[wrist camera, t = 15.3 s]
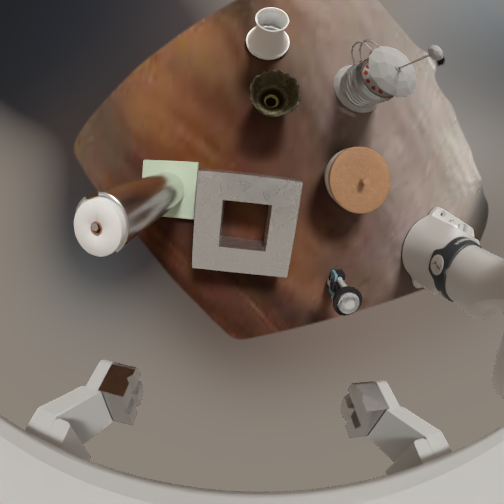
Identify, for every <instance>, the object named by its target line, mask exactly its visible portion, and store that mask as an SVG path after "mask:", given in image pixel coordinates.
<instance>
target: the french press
mask: <svg viewBox="0 0 504 504" xmlns="http://www.w3.org/2000/svg"><path fill="white" fill-rule="evenodd" d="M366 41H370V42H373V43H375V44H376V45H377V46H378V47H379V48H377V49H375V50H372V48H371V47H370V46H369V45H367V44H366V43H364V42H366ZM357 43H361V45H360V49H359V52H360V57H361V61H362V62H361V61H360V62H361V63H360V62H358V63H357V64H356V65H355V60H354V57H353V48H354V46H355V45H356V44H357ZM362 44H365V45H367V46H368V47H369V48H370V50H371V52H370V56H369V58H368V59H366V60H364V59H363V60H364V61H363V60H362V55H361V46H362ZM428 52H429V55H426V56H424V57H422V58H419V59H417V60H415V61H412V62H410V61H409V59H408V58H407V57H406V56H405V55H404V54H402V53H401V52H400V51H399V50H396V49H394V48H392V47H380V46H379V45H378V44H377V43H376V42H374V41H372V40H364V41H363V42H356V43H355V44H354V45H353V46H352V50H351V54H352V59H353V62H354V65H349V66H345V67H343V68H342V69H340V70H339V71H338V72H337V74H336V76H335V77H334V89H335V92H336V96H337V97H338V99H339V100H340V101H341V103H342V104H343V105H344V106H346V107H347V108H349V109H350V110H351V111H355V112H359V113H366V112H371V111H372V110H374V109H375V108H377V106H378V105H379V103H381V102H384V101H388V100H389V99H391V98H393V96H396V97H406V96H408V95H409V94H411V93H413V91H414V89H415V87H416V73H415V70H414V67H413V65H412V63H414V62H417V61H419V60H421V59H424V58H426V57H428V56H431V57H432V58H433V59H434V60H440V59H442V58H443V52H442V50H441V48H439V47H438V46H435V45H431V46H430V47H428ZM359 63H360V64H359ZM381 98H382V99H381Z"/></svg>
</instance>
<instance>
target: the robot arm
mask: <svg viewBox="0 0 504 504" xmlns="http://www.w3.org/2000/svg"><path fill="white" fill-rule="evenodd" d="M402 259H403V264H404V267H405V269H406V271H407V272H408V273H409V275H410V276H411V279H412V284H413V286H414V287H416V288H423V287H424V288H425V289H427V290H428V291H429V292H431V293H432V294H434V295H437V294H441V295H442V296H443V297H445V298H446V299H448V300H449V301H452V302H455V303H456V304H457V305H458V306H459V307H460V308H461V309H462V310H463V311H465V312H466V313H467V314H468V315H469V316H470V317H471V318H473V319H476V320H485V319H488V318H491V317H492V316H494V315H495V314H496V313H497V312H498V311H501V312H503V313H504V259H503V258H500V257H498V256H496V255H494V254H492V253H490V252H488V251H486V250H484V249H482V248H481V246H480V243H479V241H478V240H477V239H475V238H474V230H473V228H472V227H470V226H469V225H467V224H466V223H464V222H463V221H461V220H459V219H458V218H456V217H455V216H453V215H452V214H450V213H448V212H447V211H445V210H444V209H442V208H440V207H438V206H436V207H434V208H433V209H432V211H431V212H430V213H429V215H427V216H426V217H424V218H422V219H421V220H419V221H418V222H417V223H416V224H415V225H414V226H413V227H412V228H411V230H410V231H409V233H408V235H407V237H406V239H405V242H404V245H403V251H402ZM139 377H140V370H139V368H136V367H132V366H128V365H124V364H120V363H116V362H111V361H108V360H105V359H103V360H101V361H100V362H99V364H98V366H97V367H96V369H95V371H94V373H93V374H92V376H91V378H90V379H89V381H88V383H87V385H86V386H81V387H79V388H77V389H75V390H73V391H71V392H69V393H67V394H65V395H63V396H61V397H59V398H57V399H55V400H53V401H51V402H49V403H47V404H45V405H43V406H40V407H39V408H38V409H37V411H36V412H35V414H34V415H33V417H32V419H31V421H30V422H29V424H28V426H27V427H26V429H25V430H24V429H22V428H21V427H19V426H17V425H15V424H14V423H12V422H11V421H9V420H7V419H6V418H4V417H3V416H1V415H0V504H504V426H502V427H500V428H498V429H496V430H494V431H492V432H491V433H489V434H487V435H485V436H484V437H482V438H480V439H478V440H476V441H475V442H472V443H470V444H468V445H466V446H464V447H462V448H460V449H458V450H455V451H453V452H452V451H451V449H450V447H449V445H448V443H447V441H446V439H445V438H444V436H443V434H442V432H441V431H440V430H438V429H437V428H435V427H433V426H432V425H430V424H429V423H427V422H426V421H424V420H422V419H421V418H419V417H418V416H416V415H414V414H413V413H412V412H410V411H409V410H407V409H406V408H404V407H400V406H399V404H398V402H397V400H396V398H395V396H394V394H393V392H392V391H391V389H390V387H389V385H388V383H387V382H386V381H384V380H382V381H374V382H373V381H372V382H360V383H352V384H351V385H350V386H349V388H348V392H349V394H347V395H346V396H345V397H344V398H343V400H342V404H341V413H342V417H343V418H344V419H345V420H346V421H347V423H346V425H345V426H346V430H347V432H348V436H349V438H355V437H362V436H367V437H368V438H369V439H370V440H371V441H372V442H373V443H374V444H375V445H376V446H377V447H379V448H380V449H381V450H382V451H383V452H384V453H385V454H386V455H387V456H388V457H389V458H390V459H391V460H392V461H394V463H393V464H392V465H391V466H390V467H389V468H388V469H387V470H386V474H387V475H385V476H382V477H378V478H373V479H369V480H365V481H360V482H355V483H350V484H345V485H339V486H332V487H325V488H317V489H307V490H296V491H276V492H246V491H226V490H215V489H205V488H196V487H190V486H183V485H177V484H171V483H166V482H161V481H156V480H152V479H147V478H143V477H140V476H136V475H132V474H129V473H125V472H121V471H118V470H115V469H112V468H109V467H106V466H103V465H100V464H97V463H94V462H92V461H90V458H91V456H90V454H89V453H88V451H87V450H86V449H85V447H84V446H83V444H84V443H86V442H87V441H88V440H90V439H91V438H92V437H94V436H95V435H96V434H98V433H99V432H100V431H101V430H103V429H104V428H105V427H106V426H108V425H109V424H110V423H112V420H113V421H116V422H120V423H124V424H129V425H133V423H134V421H135V418H136V415H137V410H136V407H137V406H138V405H140V403H141V400H142V396H143V385H142V382H141V381H140V380H139ZM492 382H493V387H494V389H495V391H496V392H497V394H498V395H499V396H500V397H501V398H503V399H504V334H503V337H502V340H501V343H500V346H499V349H498V351H497V355H496V360H495V365H494V371H493V377H492Z"/></svg>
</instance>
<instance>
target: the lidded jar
mask: <svg viewBox="0 0 504 504" xmlns="http://www.w3.org/2000/svg"><path fill="white" fill-rule="evenodd" d="M324 179H325V185H326V188H327V191H328V193H329V194H330V196H331V197H332V198H333V200H334V201H335V202H336V203H337V204H339V205H340V206H341V207H342V208H344V209H345V210H347V211H349V212H352V213H356V214H365V213H369V212H371V211H374V210H375V209H377V208H378V207H379V206H380V205H381V204H382V203H383V202H384V201H385V199H386V197H387V195H388V192H389V189H390V182H391V181H390V172H389V169H388V166H387V164H386V162H385V161H384V159H383V158H382V157H381V156H380V155H379V154H378V153H377V152H376V151H374V150H372V149H370V148H367V147H351V148H347V149H344V150H341V151H339V152H338V153H336V154H335V155H334V156H333V157H332V158H331V159H330V160H329V162H328V164H327V166H326V169H325V176H324Z"/></svg>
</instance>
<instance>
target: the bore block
mask: <svg viewBox="0 0 504 504" xmlns="http://www.w3.org/2000/svg"><path fill="white" fill-rule="evenodd" d="M302 184H303V182H301V181H299V180H297V179H293V178H286V177H279V176H271V175H263V174H255V173H246V172H237V171H227V170H216V169H201V170H198V178H197V190H196V203H195V217H194V234H193V254H192V268H199V269H208V270H217V271H226V272H236V273H246V274H255V275H266V276H276V277H286V278H287V274H288V269H289V263H290V258H291V252H292V246H293V240H294V235H295V229H296V223H297V216H298V210H299V204H300V197H301V191H302ZM225 200H229V201H239V202H248V203H257V204H265V205H268V212H267V219H266V226H265V234H264V240H256V239H247V238H237V237H228V236H222V228H223V218H224V207H225Z"/></svg>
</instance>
